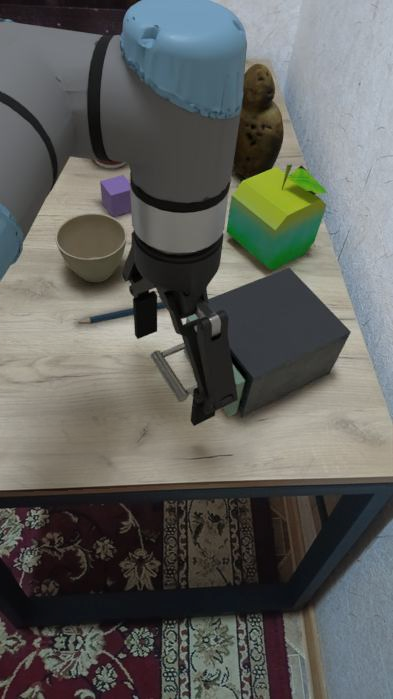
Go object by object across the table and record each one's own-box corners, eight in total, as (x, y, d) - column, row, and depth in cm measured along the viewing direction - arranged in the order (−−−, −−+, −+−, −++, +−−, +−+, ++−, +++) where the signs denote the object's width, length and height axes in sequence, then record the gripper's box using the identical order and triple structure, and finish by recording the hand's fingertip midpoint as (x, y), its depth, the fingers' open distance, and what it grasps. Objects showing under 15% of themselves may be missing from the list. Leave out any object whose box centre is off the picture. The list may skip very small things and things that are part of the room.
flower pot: (53, 259, 77) (46, 222, 71) (114, 243, 80) (111, 206, 74) (75, 302, 72) (68, 266, 66) (138, 283, 75) (137, 247, 69)
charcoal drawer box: (241, 418, 62) (253, 378, 55) (191, 347, 68) (196, 303, 61) (329, 373, 67) (351, 331, 60) (275, 311, 73) (289, 267, 66)
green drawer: (185, 438, 59) (189, 407, 53) (142, 369, 64) (141, 334, 59) (313, 374, 66) (328, 341, 60) (264, 317, 71) (273, 281, 65)
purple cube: (102, 202, 86) (99, 180, 83) (124, 196, 88) (123, 174, 84) (112, 217, 84) (110, 195, 80) (135, 210, 85) (135, 188, 82)
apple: (264, 275, 78) (284, 194, 66) (225, 240, 82) (237, 159, 70) (311, 250, 82) (338, 170, 70) (271, 218, 87) (290, 138, 75)
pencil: (180, 305, 73) (79, 327, 69) (178, 301, 74) (77, 322, 70) (180, 302, 72) (78, 323, 69) (178, 297, 73) (77, 318, 69)
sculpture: (218, 157, 97) (231, 47, 81) (259, 155, 99) (279, 47, 83) (234, 199, 89) (252, 86, 73) (278, 196, 91) (305, 85, 75)
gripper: (308, 313, 35) (260, 444, 52) (149, 142, 48) (151, 293, 65) (221, 351, 33) (199, 477, 50) (77, 160, 45) (99, 312, 62)
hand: (172, 373), depth 57 cm, fingers open, 13 cm apart
